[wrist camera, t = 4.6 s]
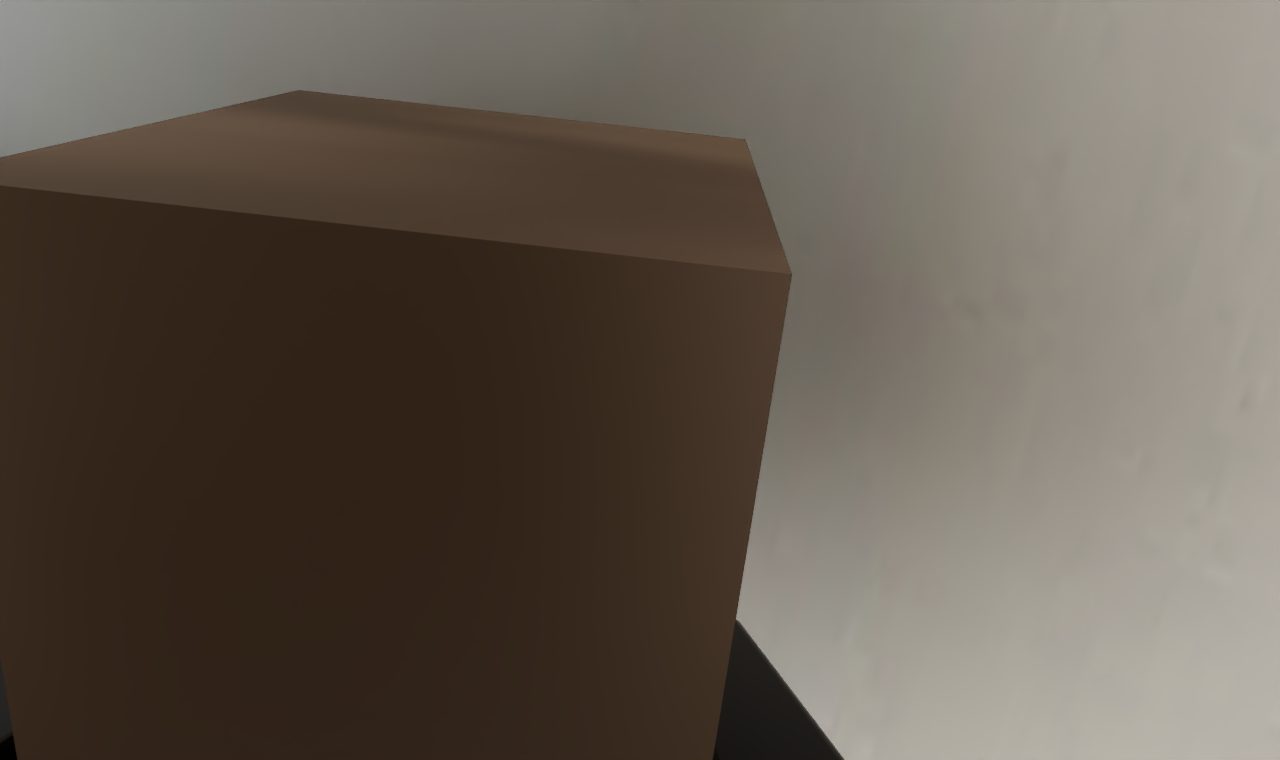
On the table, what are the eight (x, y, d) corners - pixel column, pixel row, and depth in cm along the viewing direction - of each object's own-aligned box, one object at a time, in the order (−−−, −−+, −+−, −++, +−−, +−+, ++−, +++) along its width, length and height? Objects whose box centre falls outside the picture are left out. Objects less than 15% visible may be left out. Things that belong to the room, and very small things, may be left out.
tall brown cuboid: (319, 856, 11) (113, 1322, 7) (297, 90, 8) (-83, 176, 4) (641, 895, 10) (611, 1385, 7) (744, 138, 8) (792, 273, 4)
